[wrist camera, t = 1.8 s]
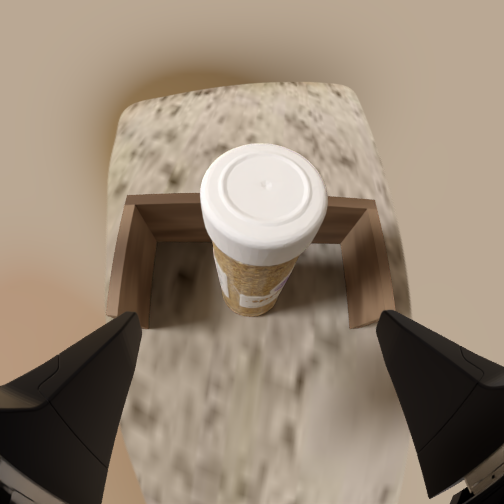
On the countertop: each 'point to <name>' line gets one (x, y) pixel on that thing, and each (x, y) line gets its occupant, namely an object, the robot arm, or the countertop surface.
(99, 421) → the robot arm
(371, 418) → the countertop surface
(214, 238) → the sprinkles bottle
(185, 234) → the walnut crate
